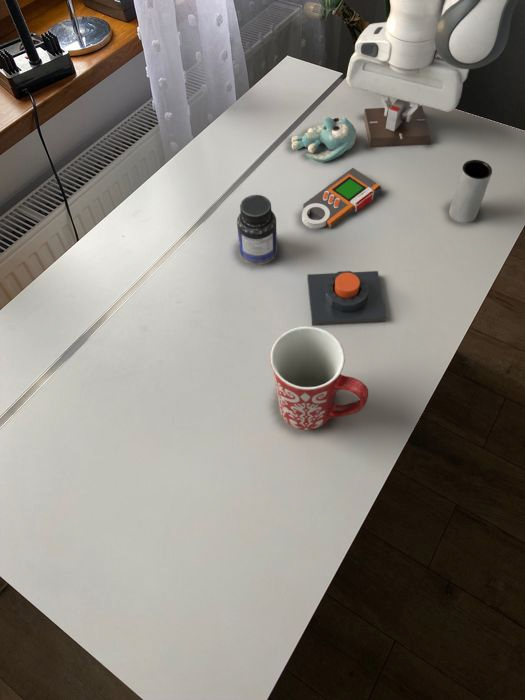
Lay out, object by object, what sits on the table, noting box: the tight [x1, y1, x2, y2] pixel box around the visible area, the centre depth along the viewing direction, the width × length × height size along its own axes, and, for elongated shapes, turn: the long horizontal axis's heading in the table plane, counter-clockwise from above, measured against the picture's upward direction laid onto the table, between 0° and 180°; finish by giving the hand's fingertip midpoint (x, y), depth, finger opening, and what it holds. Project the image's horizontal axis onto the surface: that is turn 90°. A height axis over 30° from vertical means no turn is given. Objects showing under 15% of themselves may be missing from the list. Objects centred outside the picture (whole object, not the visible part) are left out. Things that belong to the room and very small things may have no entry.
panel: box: [363, 105, 432, 149], centre depth 114 cm, size 11×10×3 cm
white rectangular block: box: [386, 99, 411, 131], centre depth 111 cm, size 6×2×4 cm, turn 146°
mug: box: [269, 326, 369, 431], centre depth 77 cm, size 13×9×14 cm
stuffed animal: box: [291, 116, 357, 163], centre depth 111 cm, size 11×7×12 cm
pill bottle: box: [236, 194, 278, 266], centre depth 95 cm, size 6×6×11 cm
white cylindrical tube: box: [448, 159, 493, 224], centre depth 98 cm, size 4×4×10 cm
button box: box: [306, 270, 387, 327], centre depth 91 cm, size 11×9×4 cm
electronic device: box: [301, 167, 382, 230], centre depth 104 cm, size 7×3×15 cm
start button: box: [335, 273, 360, 299], centre depth 89 cm, size 4×4×2 cm
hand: (397, 117), depth 112 cm, fingers closed on white rectangular block, 2 cm apart
